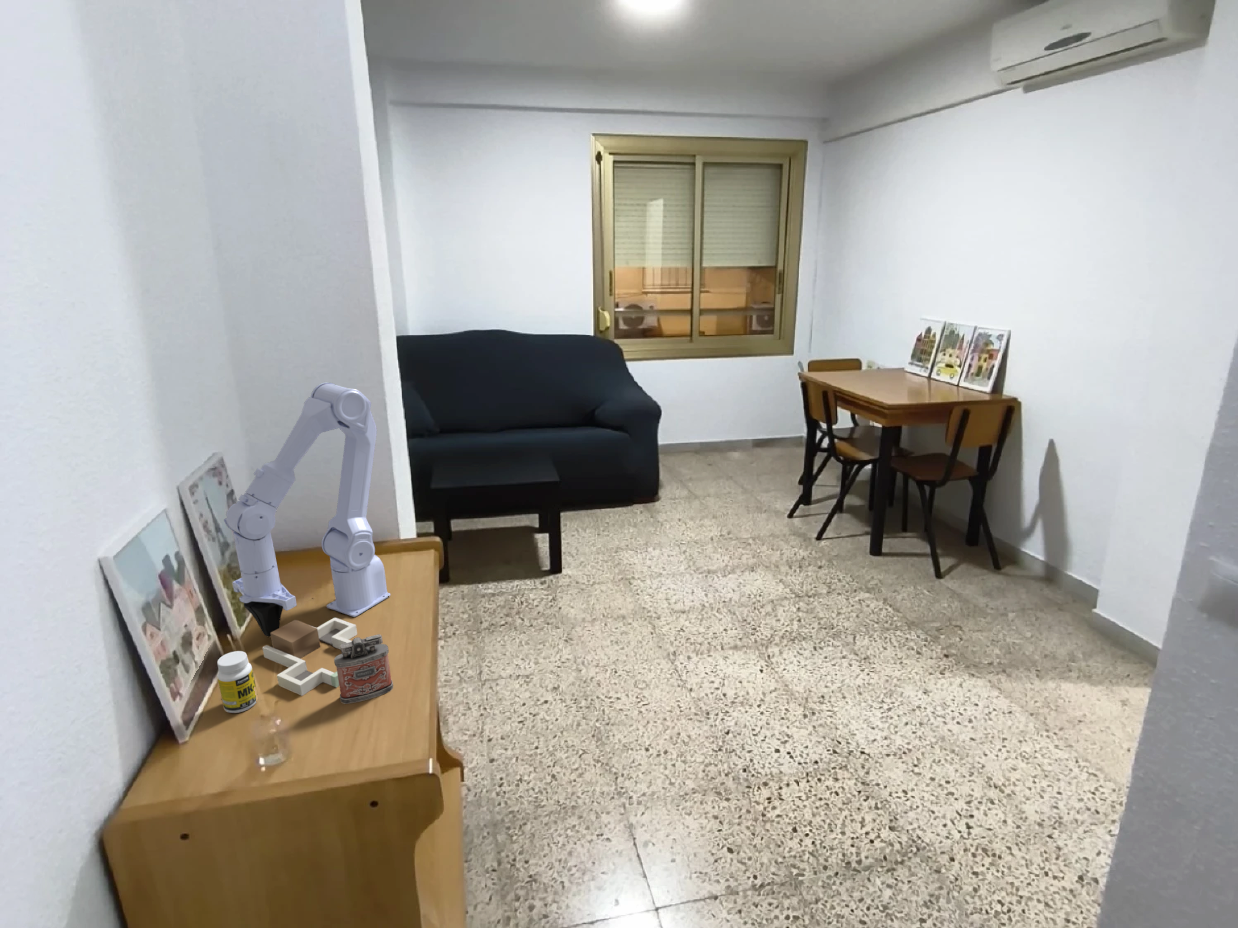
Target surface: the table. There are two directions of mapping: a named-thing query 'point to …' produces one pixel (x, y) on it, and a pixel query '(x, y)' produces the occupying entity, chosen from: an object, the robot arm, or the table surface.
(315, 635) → the block
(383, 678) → the lighter
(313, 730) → the table surface
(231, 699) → the supplement bottle
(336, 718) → the table surface
